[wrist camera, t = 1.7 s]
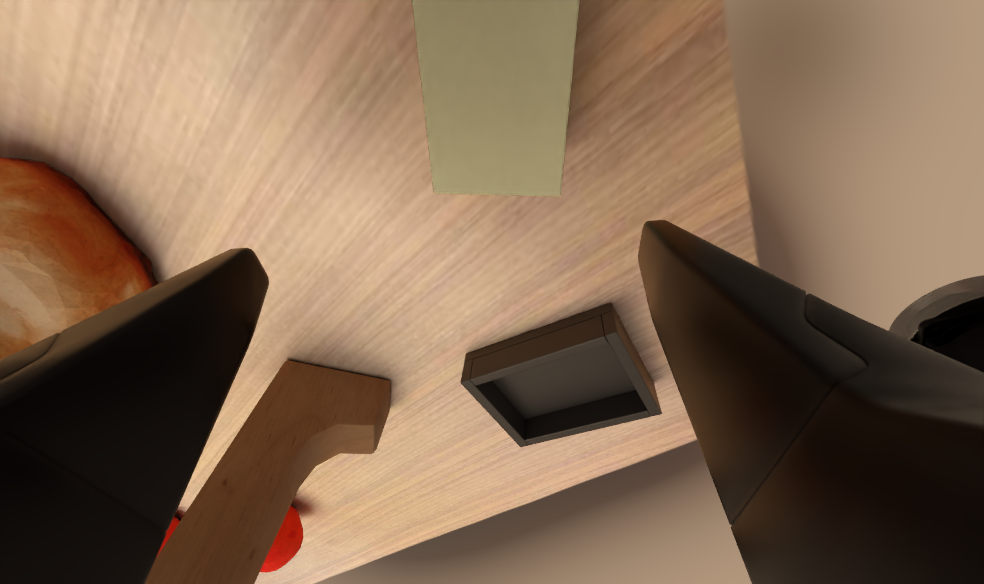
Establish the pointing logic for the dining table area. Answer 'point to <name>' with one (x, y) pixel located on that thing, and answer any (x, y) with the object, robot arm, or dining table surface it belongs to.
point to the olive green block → (496, 93)
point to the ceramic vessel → (58, 256)
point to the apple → (285, 542)
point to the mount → (562, 379)
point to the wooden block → (271, 471)
